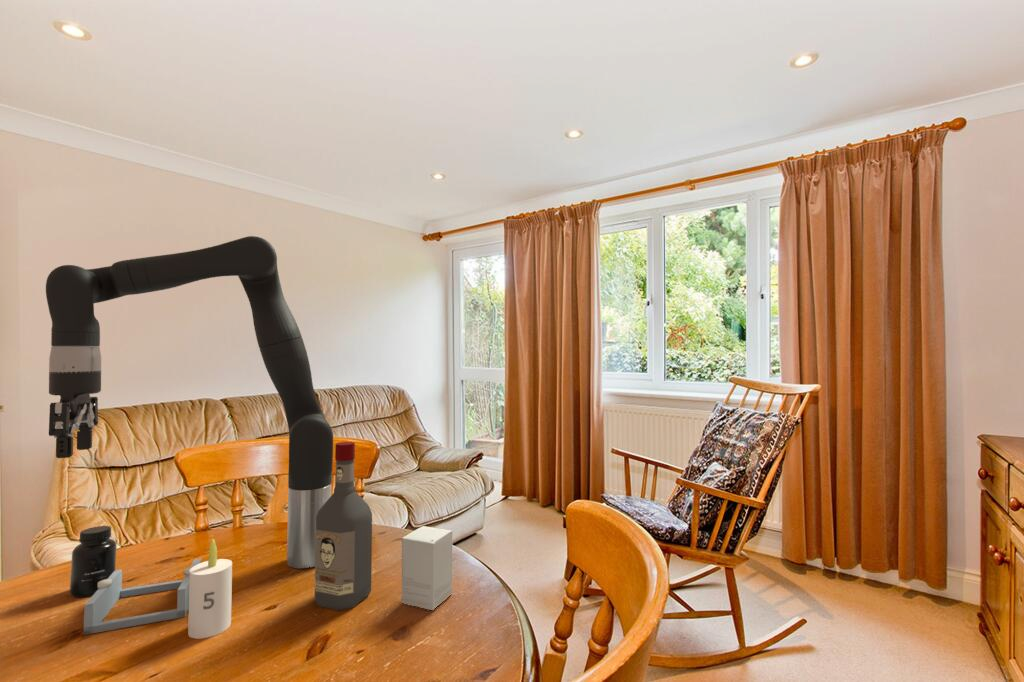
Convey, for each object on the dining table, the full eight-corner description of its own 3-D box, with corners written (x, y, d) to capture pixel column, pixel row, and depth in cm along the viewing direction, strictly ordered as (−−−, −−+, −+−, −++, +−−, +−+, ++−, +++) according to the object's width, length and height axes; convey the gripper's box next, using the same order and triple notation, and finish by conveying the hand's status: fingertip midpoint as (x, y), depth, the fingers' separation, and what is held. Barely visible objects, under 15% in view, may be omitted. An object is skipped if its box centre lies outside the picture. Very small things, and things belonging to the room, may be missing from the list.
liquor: (339, 583, 99) (341, 438, 100) (377, 590, 96) (378, 441, 97) (307, 605, 91) (309, 445, 92) (347, 613, 88) (349, 449, 89)
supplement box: (453, 594, 95) (454, 530, 95) (432, 612, 88) (432, 543, 88) (422, 587, 98) (423, 524, 98) (399, 604, 91) (400, 537, 92)
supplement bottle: (88, 600, 92) (90, 537, 93) (60, 596, 94) (62, 534, 94) (124, 583, 99) (125, 525, 99) (97, 580, 100) (99, 522, 101)
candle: (185, 643, 79) (187, 550, 79) (190, 623, 84) (192, 537, 85) (229, 633, 81) (231, 544, 82) (232, 614, 87) (233, 531, 88)
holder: (202, 582, 100) (203, 554, 100) (187, 616, 87) (188, 583, 87) (111, 596, 93) (112, 566, 94) (80, 635, 81) (81, 600, 81)
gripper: (84, 370, 88) (83, 458, 88) (113, 368, 101) (112, 445, 101) (30, 371, 85) (29, 463, 85) (68, 369, 98) (67, 448, 98)
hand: (74, 453), depth 93 cm, fingers open, 8 cm apart
